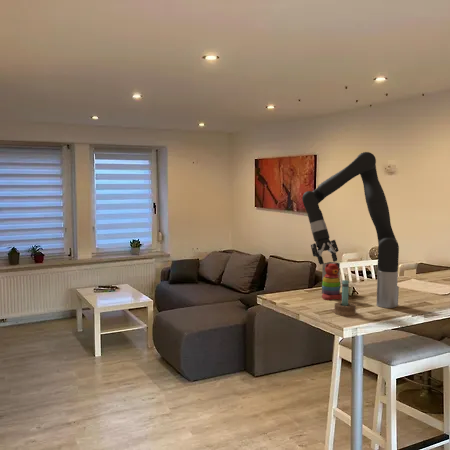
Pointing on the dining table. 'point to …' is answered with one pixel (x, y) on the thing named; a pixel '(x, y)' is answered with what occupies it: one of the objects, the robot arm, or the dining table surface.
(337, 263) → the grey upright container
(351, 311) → the brown thick ring
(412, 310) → the dining table surface
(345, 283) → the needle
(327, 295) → the stacking bear
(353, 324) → the dining table surface
